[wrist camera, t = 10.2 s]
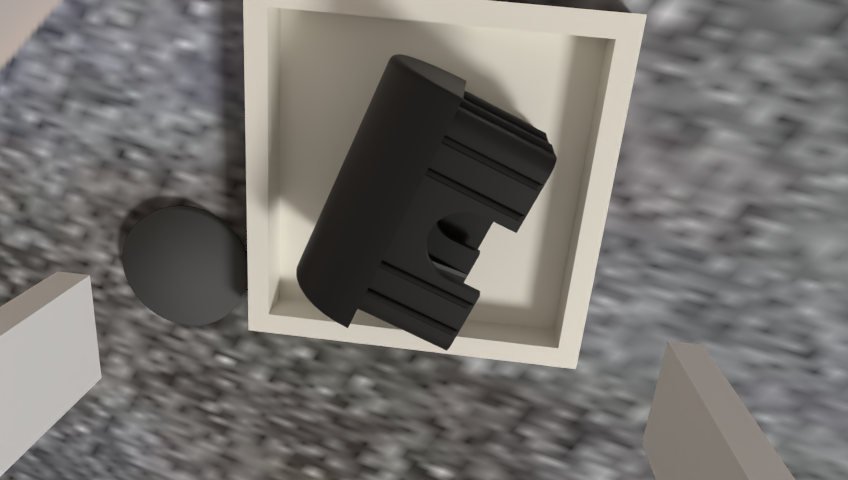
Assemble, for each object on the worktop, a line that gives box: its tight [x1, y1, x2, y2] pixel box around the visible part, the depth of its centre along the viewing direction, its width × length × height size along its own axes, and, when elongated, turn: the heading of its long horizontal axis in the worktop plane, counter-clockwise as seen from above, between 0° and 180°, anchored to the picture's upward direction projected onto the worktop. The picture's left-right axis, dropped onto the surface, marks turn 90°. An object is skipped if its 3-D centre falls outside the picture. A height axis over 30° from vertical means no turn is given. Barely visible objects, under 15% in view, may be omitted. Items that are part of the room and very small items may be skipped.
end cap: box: [296, 54, 557, 351], centre depth 26 cm, size 10×7×7 cm
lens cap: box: [123, 206, 248, 325], centre depth 32 cm, size 6×6×1 cm
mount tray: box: [243, 0, 647, 369], centre depth 28 cm, size 16×16×2 cm
